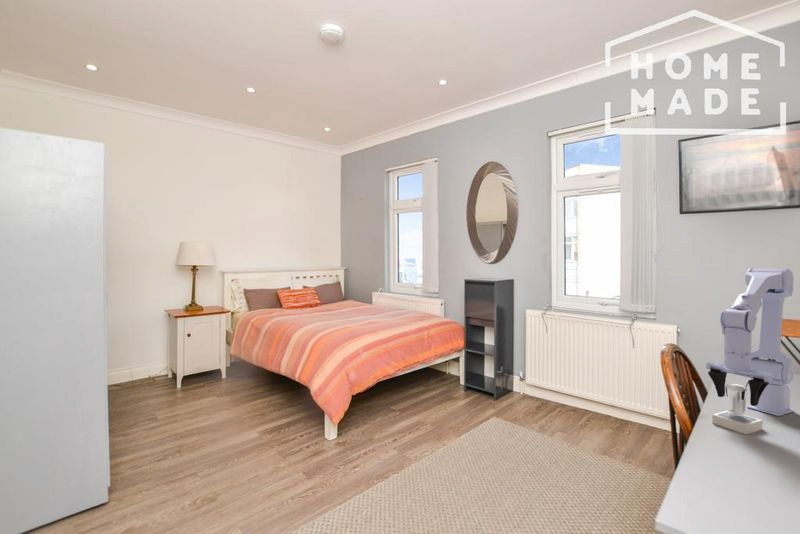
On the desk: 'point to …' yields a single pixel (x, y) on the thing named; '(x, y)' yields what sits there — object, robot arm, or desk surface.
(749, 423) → the plinth
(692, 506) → the desk surface
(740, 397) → the milkshake
